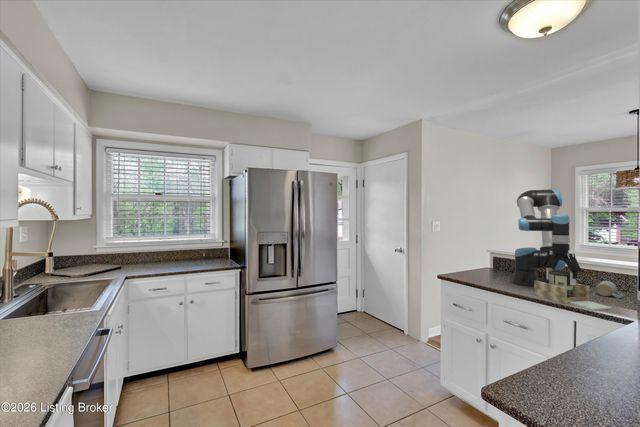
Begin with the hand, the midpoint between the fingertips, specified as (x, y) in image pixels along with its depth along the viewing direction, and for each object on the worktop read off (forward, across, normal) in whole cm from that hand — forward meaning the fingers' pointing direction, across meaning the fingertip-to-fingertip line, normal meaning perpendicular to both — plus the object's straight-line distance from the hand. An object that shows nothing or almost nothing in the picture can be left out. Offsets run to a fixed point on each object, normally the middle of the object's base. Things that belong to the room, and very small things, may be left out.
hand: (560, 282), depth 163 cm
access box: (+9, 0, 0) cm, 9 cm away
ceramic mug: (+9, +1, +31) cm, 32 cm away
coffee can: (+9, 0, 0) cm, 9 cm away
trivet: (+9, +14, +1) cm, 17 cm away
